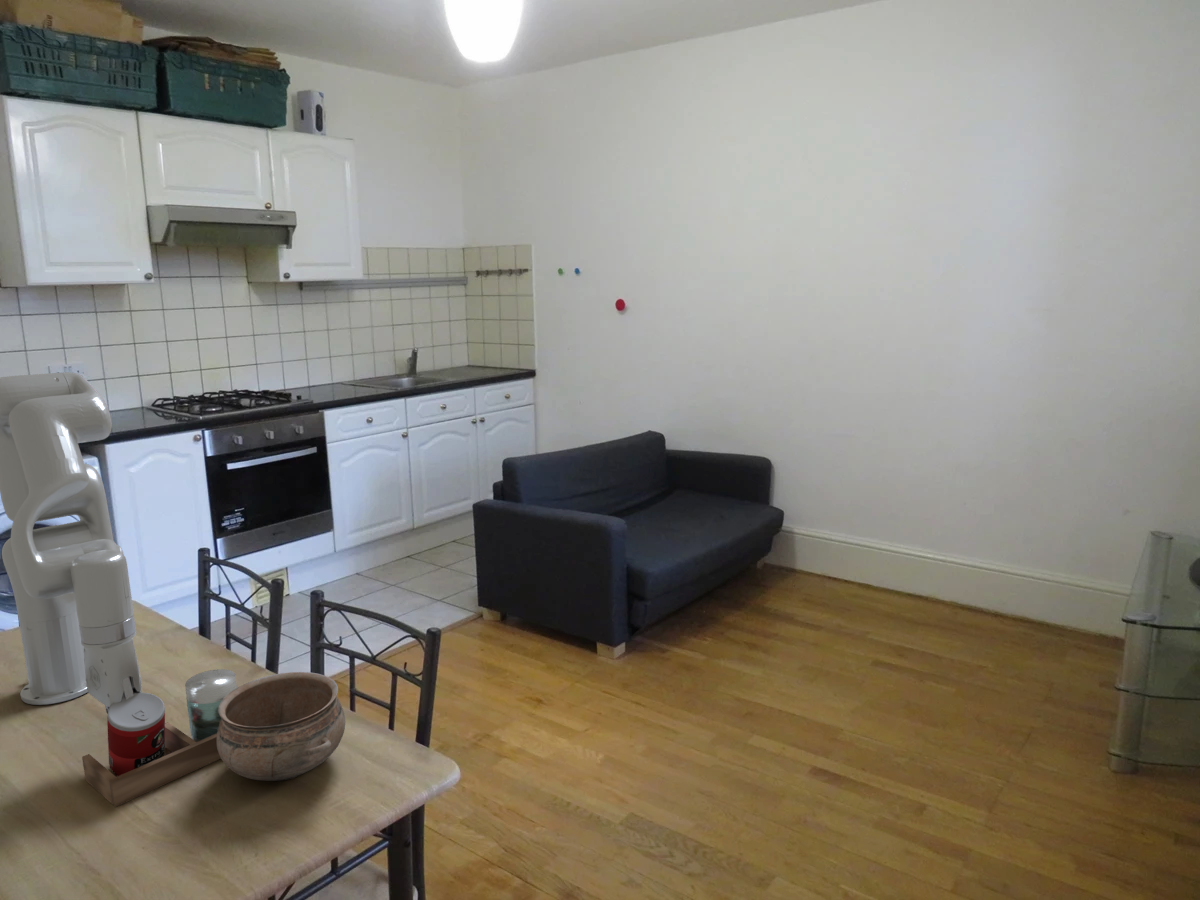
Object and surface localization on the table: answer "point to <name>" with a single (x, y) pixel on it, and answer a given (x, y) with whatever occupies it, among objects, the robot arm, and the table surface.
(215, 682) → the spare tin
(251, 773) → the cooking pot
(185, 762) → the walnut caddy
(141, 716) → the canned food
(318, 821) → the table surface
